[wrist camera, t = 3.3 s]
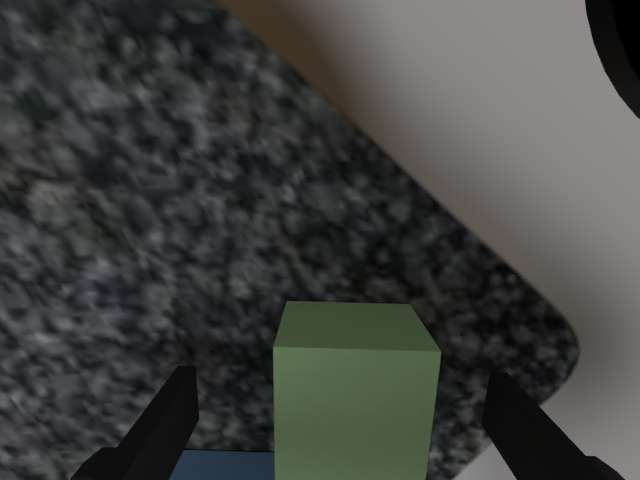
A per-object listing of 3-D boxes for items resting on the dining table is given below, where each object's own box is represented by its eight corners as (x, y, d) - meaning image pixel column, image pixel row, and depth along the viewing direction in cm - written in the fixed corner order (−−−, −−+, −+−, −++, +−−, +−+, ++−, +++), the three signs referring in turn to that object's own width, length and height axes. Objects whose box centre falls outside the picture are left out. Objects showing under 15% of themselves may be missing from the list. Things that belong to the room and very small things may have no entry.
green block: (410, 303, 14) (442, 351, 10) (398, 425, 16) (422, 506, 12) (286, 300, 14) (272, 347, 11) (286, 421, 16) (274, 502, 12)
